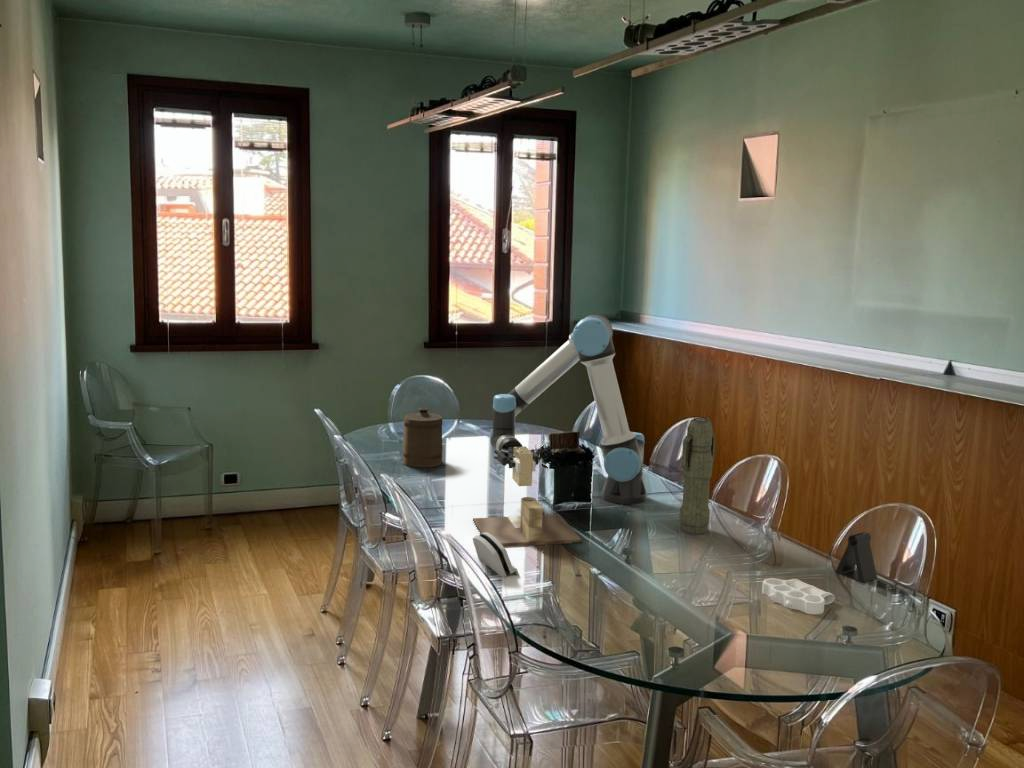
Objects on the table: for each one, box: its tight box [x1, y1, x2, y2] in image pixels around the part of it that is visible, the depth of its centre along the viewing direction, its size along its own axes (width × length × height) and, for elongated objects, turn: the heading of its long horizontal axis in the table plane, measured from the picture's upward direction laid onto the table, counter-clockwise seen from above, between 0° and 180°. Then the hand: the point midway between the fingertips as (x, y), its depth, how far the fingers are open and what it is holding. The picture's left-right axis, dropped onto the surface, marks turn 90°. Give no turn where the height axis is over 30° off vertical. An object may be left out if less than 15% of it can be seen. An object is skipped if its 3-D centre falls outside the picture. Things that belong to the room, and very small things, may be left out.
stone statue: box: [679, 417, 716, 536], centre depth 296 cm, size 9×12×35 cm
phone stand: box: [835, 531, 878, 584], centre depth 263 cm, size 9×6×12 cm, turn 36°
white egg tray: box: [761, 577, 836, 615], centre depth 246 cm, size 3×18×15 cm
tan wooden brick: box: [511, 446, 533, 487], centre depth 296 cm, size 4×9×10 cm, turn 13°
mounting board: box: [472, 496, 582, 548], centre depth 292 cm, size 28×24×11 cm
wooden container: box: [402, 405, 443, 469], centre depth 369 cm, size 15×15×22 cm
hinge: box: [472, 532, 520, 578], centre depth 263 cm, size 17×5×10 cm, turn 25°
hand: (526, 467), depth 291 cm, fingers closed on tan wooden brick, 4 cm apart
